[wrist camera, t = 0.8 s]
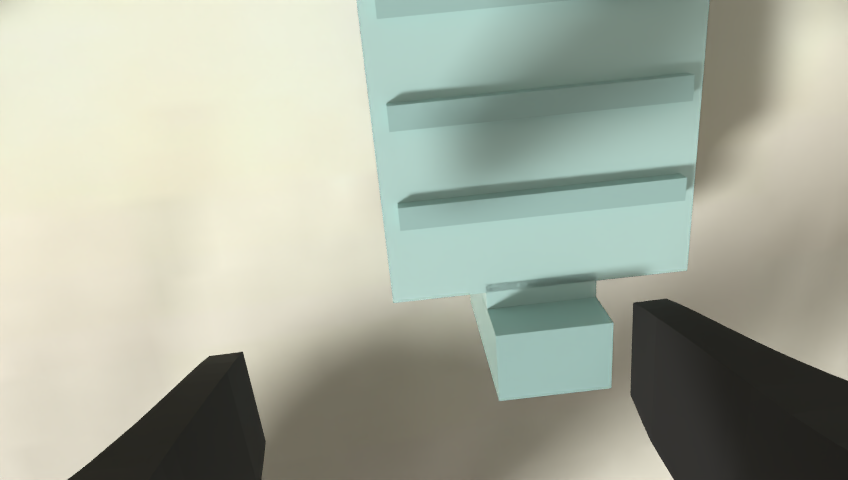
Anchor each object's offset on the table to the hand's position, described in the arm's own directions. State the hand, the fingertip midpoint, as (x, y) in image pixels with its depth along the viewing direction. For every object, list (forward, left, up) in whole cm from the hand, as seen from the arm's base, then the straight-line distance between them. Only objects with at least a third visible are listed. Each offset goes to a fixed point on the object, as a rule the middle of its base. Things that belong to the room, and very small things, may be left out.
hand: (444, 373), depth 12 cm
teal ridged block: (+3, -3, -9) cm, 10 cm away
